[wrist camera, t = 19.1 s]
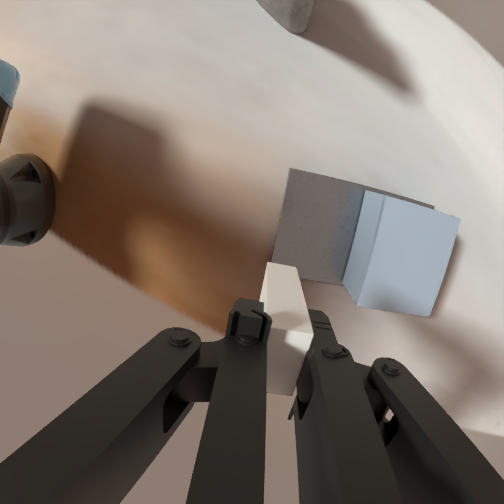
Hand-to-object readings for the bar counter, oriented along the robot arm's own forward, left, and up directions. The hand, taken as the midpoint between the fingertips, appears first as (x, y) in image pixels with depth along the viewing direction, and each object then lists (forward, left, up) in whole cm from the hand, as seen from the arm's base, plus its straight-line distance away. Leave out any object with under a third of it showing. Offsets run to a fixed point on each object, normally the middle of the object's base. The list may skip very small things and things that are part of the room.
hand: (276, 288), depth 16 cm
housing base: (+11, 0, -22) cm, 25 cm away
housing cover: (+15, 0, -21) cm, 26 cm away
